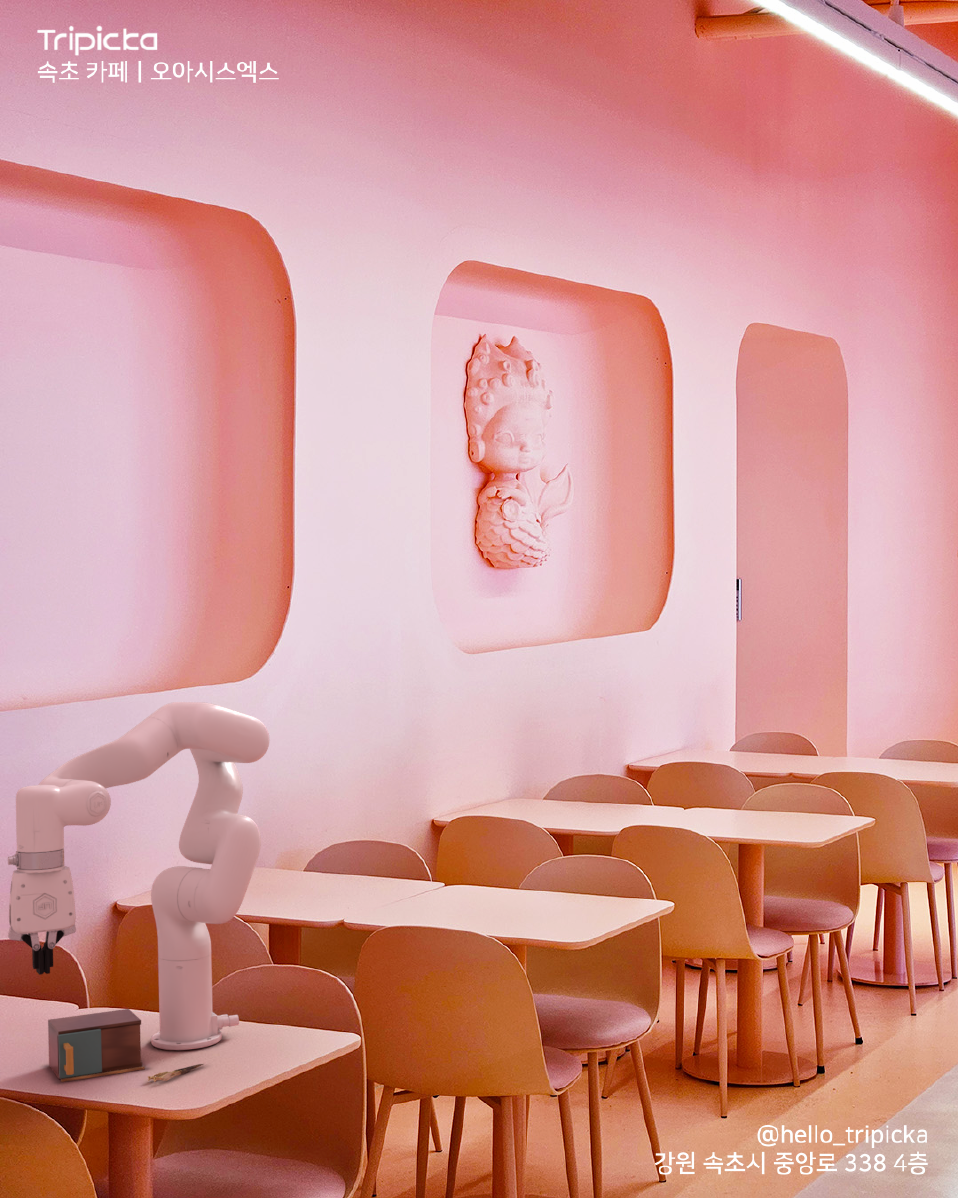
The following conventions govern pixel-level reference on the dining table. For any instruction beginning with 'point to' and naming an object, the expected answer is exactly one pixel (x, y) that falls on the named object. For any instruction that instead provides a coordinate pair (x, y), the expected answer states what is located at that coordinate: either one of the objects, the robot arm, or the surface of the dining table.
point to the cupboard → (102, 1040)
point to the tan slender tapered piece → (172, 1073)
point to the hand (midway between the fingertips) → (43, 972)
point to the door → (80, 1053)
